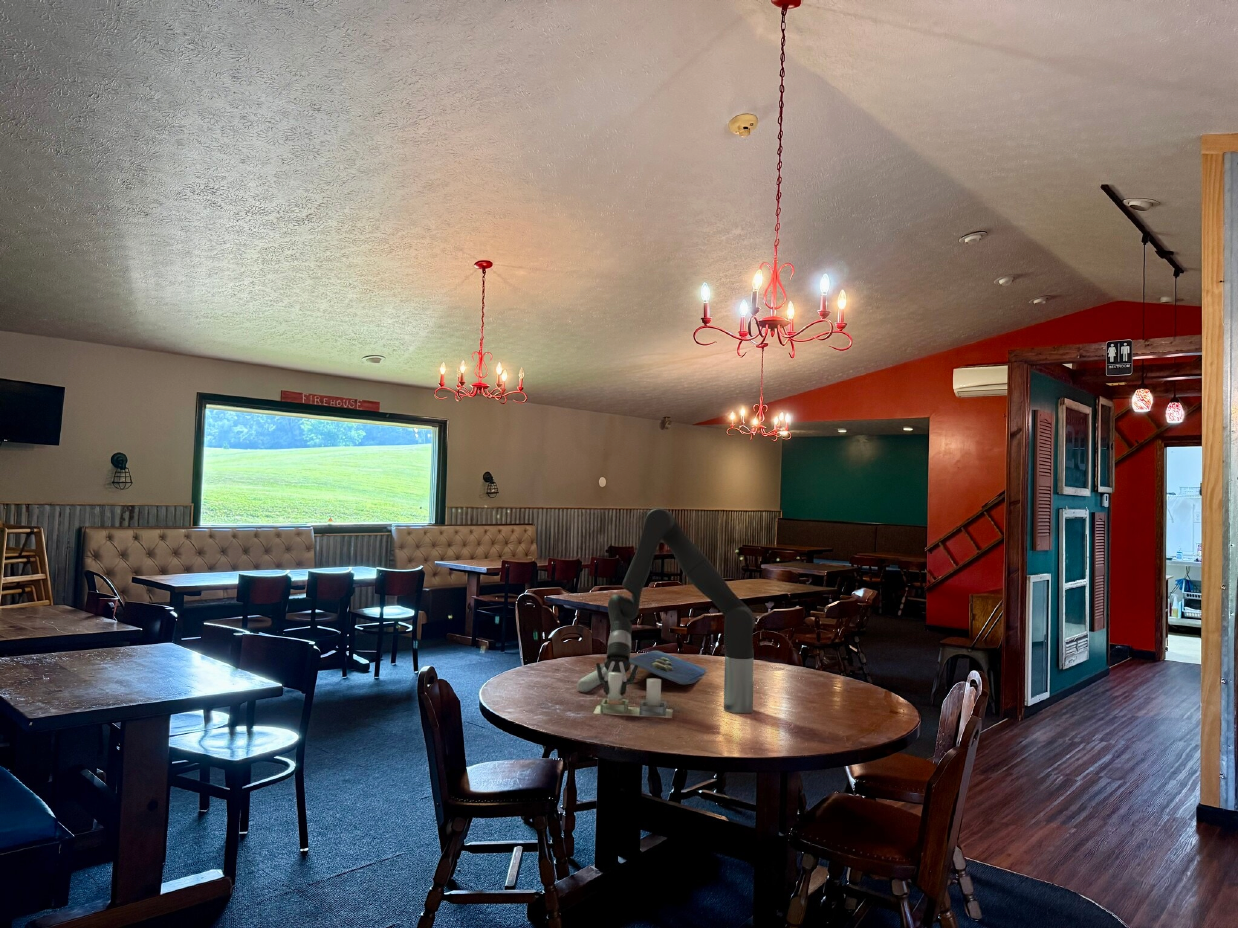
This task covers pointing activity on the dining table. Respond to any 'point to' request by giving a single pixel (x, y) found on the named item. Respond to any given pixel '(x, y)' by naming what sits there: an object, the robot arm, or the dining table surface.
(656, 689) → the seated sleeve
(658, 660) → the serving platter
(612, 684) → the white peg
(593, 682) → the tube
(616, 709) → the board
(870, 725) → the dining table surface
